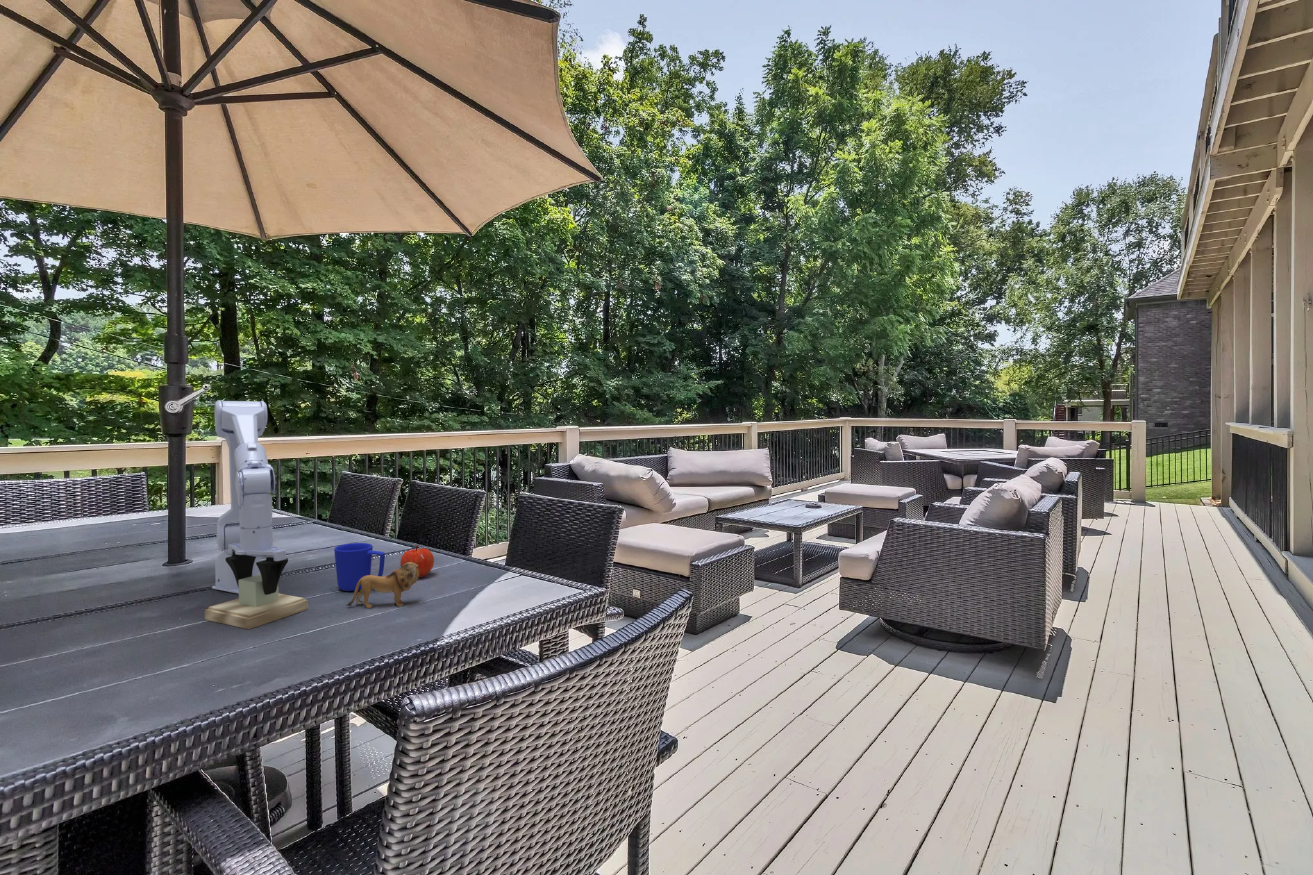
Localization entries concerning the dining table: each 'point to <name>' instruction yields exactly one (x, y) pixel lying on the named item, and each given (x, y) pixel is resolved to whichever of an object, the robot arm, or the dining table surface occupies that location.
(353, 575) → the mug
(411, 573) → the lion figurine
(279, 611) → the plinth
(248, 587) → the sage cube
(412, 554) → the apple
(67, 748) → the dining table surface
